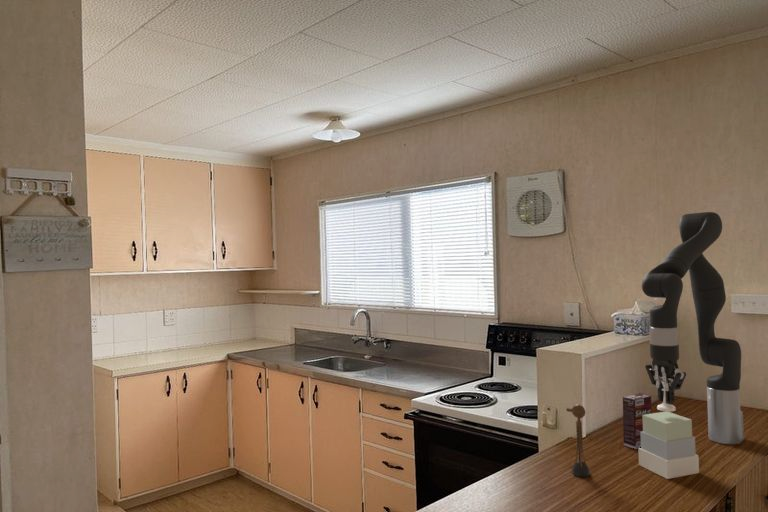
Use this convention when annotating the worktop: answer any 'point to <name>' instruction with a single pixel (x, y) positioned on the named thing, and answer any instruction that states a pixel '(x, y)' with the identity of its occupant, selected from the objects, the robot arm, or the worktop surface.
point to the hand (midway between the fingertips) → (666, 401)
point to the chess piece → (664, 405)
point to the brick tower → (668, 445)
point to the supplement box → (634, 418)
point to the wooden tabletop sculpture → (579, 443)
